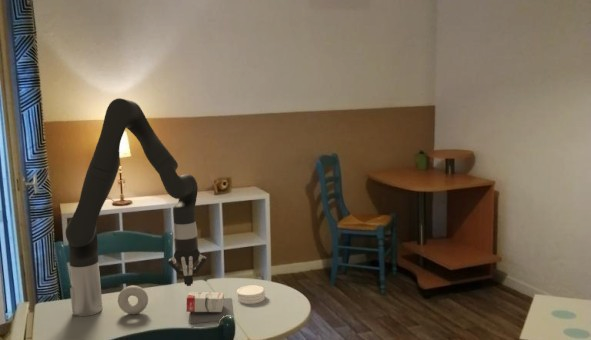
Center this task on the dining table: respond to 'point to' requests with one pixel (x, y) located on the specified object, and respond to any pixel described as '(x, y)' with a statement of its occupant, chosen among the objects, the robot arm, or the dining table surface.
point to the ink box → (205, 302)
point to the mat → (212, 313)
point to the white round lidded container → (251, 294)
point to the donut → (132, 291)
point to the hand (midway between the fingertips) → (189, 285)
